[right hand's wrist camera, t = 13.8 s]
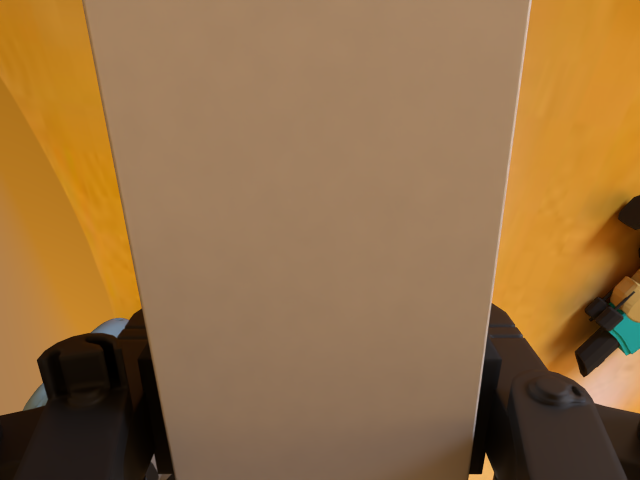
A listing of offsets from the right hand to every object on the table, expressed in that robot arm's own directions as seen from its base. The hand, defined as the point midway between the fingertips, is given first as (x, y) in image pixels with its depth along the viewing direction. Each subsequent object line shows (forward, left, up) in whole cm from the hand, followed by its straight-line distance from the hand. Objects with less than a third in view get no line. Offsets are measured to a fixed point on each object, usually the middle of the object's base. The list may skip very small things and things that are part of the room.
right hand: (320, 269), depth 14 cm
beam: (+22, +5, -1) cm, 23 cm away
